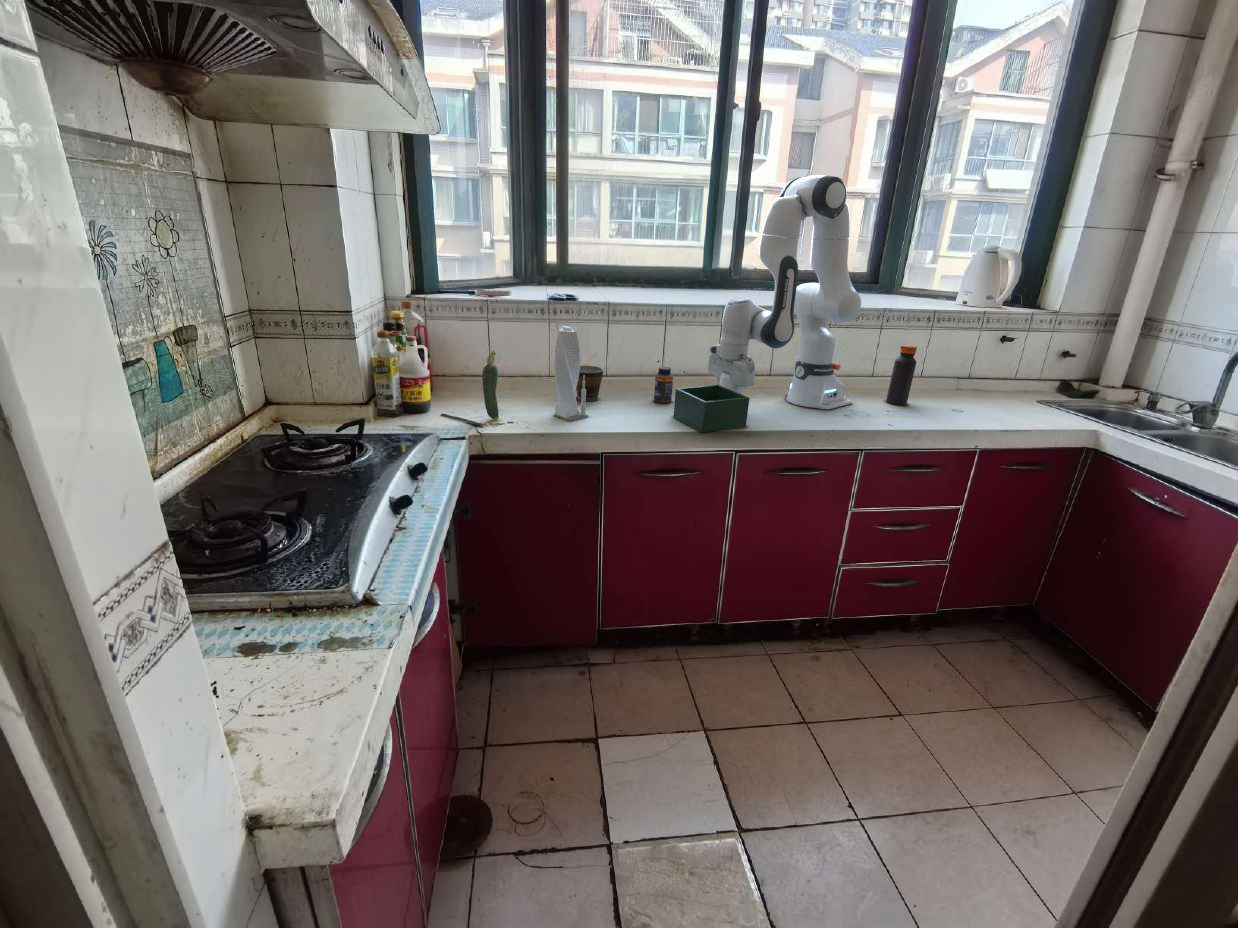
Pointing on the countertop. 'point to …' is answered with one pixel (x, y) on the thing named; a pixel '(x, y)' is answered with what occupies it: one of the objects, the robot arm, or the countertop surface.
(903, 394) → the vinegar
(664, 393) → the supplement bottle
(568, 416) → the skyscraper
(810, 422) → the countertop surface
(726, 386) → the can
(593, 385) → the ceramic cup
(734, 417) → the bin
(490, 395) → the vegetable
